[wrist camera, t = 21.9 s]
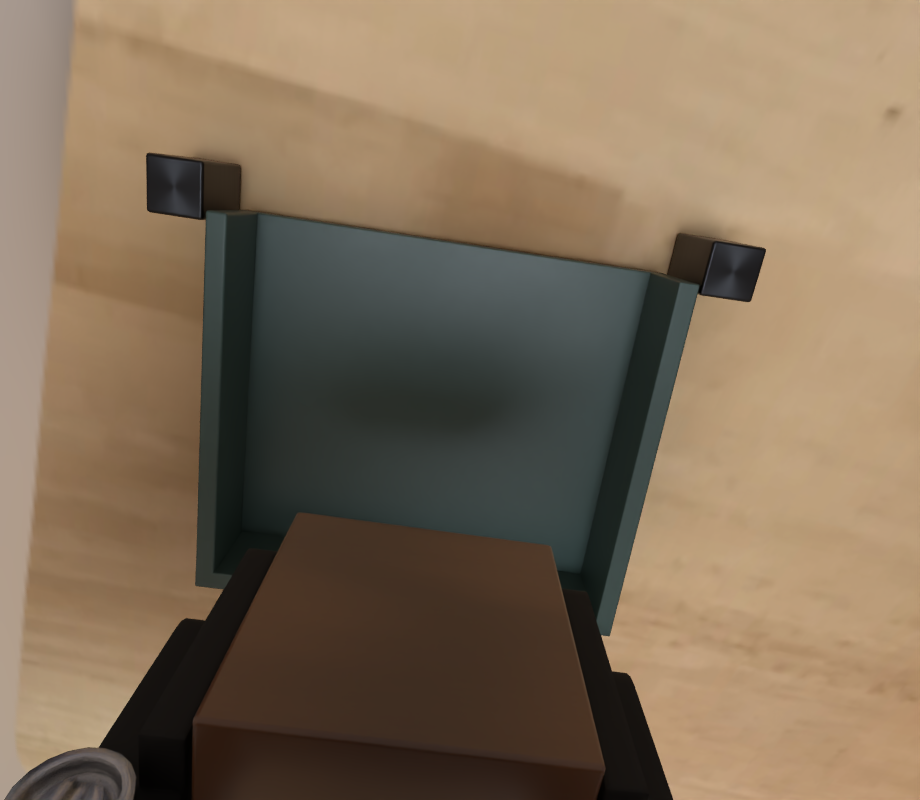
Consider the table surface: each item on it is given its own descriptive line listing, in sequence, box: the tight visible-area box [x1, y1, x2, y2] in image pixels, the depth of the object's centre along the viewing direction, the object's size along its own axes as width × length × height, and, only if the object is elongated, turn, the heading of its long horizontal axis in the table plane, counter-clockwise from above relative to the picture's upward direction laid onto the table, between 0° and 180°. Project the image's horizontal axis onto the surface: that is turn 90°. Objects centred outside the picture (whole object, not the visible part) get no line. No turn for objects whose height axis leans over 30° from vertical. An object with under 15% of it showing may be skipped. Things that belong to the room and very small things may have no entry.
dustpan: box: [195, 210, 699, 636], centre depth 22 cm, size 17×14×4 cm
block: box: [192, 512, 606, 800], centre depth 9 cm, size 4×4×4 cm
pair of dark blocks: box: [146, 153, 766, 302], centre depth 19 cm, size 2×18×3 cm, turn 82°
